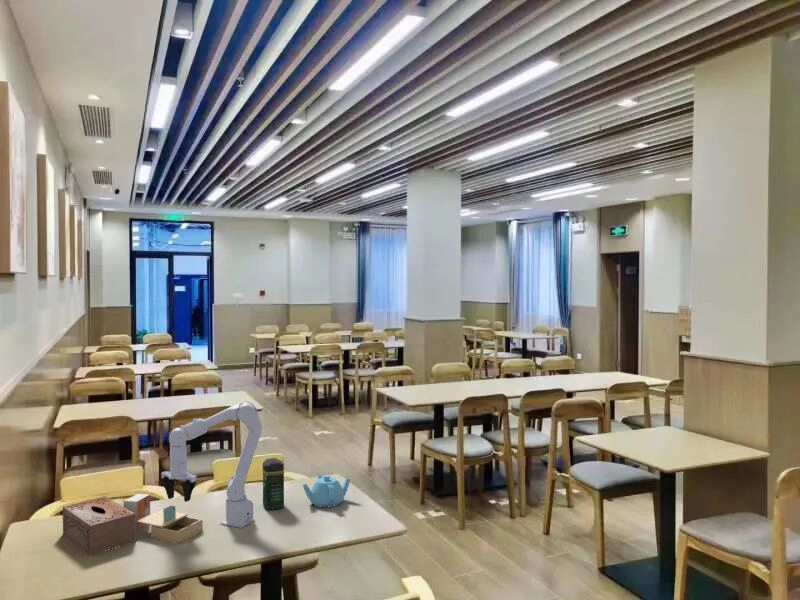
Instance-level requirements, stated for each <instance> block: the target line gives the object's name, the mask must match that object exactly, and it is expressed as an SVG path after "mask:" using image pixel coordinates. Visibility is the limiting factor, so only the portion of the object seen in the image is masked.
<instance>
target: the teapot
mask: <svg viewBox="0 0 800 600" xmlns="http://www.w3.org/2000/svg"><path fill="white" fill-rule="evenodd" d="M350 483H351V478H350V477H348V478H345V480H344V482H343V483H342V485H341V483H340V482H339V480H338V479H337V478H335V477H331V475H329V474H326V475H322V474H318V475H317V479H316V481H315V482H314V483H313V485H312V487H311V489H310V488H309V486H308V484H307V483H303V484H302V487H303V489H304V492H305V494H306V497H307V499H309V501H310V502H311V504H312V505H313V504H314V505H313V506H315V505H316V506H315V507H317V506H321V507H320V508H329V507H328V506H333V507H335V506H334V505H337V504H339V505H340V504H341V503H342V502H343V501H344V499H345V496H346V493H347V491H348V488H349V485H350ZM337 506H338V505H337Z"/></svg>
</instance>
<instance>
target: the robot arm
mask: <svg viewBox="0 0 800 600" xmlns="http://www.w3.org/2000/svg"><path fill="white" fill-rule="evenodd" d="M228 420H231V421H238V420H239V421H240V422H241V423H242V424H244V425H245V427H246V428H247V430H248V431H247V434H246V438H245V441H244V443H243V446H242V450H241V453H240V456H239V459H238V462H237V465H236V467H235V470H234V472H233V475H232V477H231V478H229V480H228V481H227V486H226V488H227V490H226V496H225V520H223V521H222V522H220V524H221V525H224V526H231V527H235V528H244V527H246V526H247V525H249V524H251V523H252V522H254V521H255V518H254V503H253V501H252V500H251V499H249V498H248V497H247V495H246V494H245V493H246V491H245V485H246V483H247V482H246V481H247V478H248V477H247V476H248V474H249V471H250V468H251V464H252V462H253V458H254V456H255V452H256V450H257V447H258V443H259V441H260V438H261V435H262V432H263V424H262V421H261V418H260V415H259V412H258V409H257V407H256V406H255V405H254V403H252V402H251V401H248V400H245V401H243V402H240V403H237V404H234V405H232V406H230V407H228V408H225V409H224V410H222V411H220V412H219V411H218V413H215V414H214V415H211V416H209V417H208V418H206V419H204V418H197V417H196V418H193V419H192V421H191V422H189V423H186V424H184V425H183V424H182V425H180V426H179V427H175V428H174V429H172V431H171V432H170V434H169V436H168V442H169V448H170V449H169V471H162V472H161V475H160V476H161V477H160V478H161V479H162V480H161V481H160V482H161V484H162V486H163V487H164V490H165V492H166V495H167V499H168V500H171V499H173V498H174V497H175V484H176V482H177V480H178V481H183V482H182V483H180V485H181V487H182V491H183V500H184V502H185V503H186V502H190V501H191V499H192V494H193V490H194V488H195V485H196V484H197V475H196V474H191V473H190V472H188V459H187V458H188V452H187V451H188V449H187V441H191V440H193V439H197V437H200V436H202V435H204V434H206V433H207V431H208V429H209V428H211V427H214V426H215V425H218V424H221V423H223V422H226V421H228Z"/></svg>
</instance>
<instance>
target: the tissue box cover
mask: <svg viewBox="0 0 800 600" xmlns="http://www.w3.org/2000/svg"><path fill="white" fill-rule="evenodd" d="M136 531H137V530H136V520H135V513H134V512H132V511H130V510H128V509H127V508H125V507H124V505H122V504H119V503H118V502H117V501H114V500H113V499H111V498H109V497H108V496H107V495H105V496H101V497H100V496H99V497H96V498H92V499H89V500H85V501H79V502H77V503H76V502H75V503H72V504H68V505H65V506H62V534H63V535H64V536H65V537H66V538H67V537H68V539H69V540H70V541H71V542H73V543H74V544H75V545H76V544H77V546H78V547H79V548H80V547H81V548H80V549H82V550H83V551H84V550H85V551H84V552H85V553H87V554H88V553H89V554H90V555H89V554H88V555H89V556H91V555H92V556H94V554H95V555H98V554H101V553H100V552H102V553H104V552H103V551H105V550H108V549H111V550H113V549H112V548H114V549H116V548H115V547H118V546H121V547H123V545H124V546H127V545H130V544H134V543H136V541H137V539H136V538H137V537H136V536H137V534H136ZM118 548H119V547H118ZM108 551H109V550H108ZM105 552H106V551H105ZM97 553H98V554H97Z"/></svg>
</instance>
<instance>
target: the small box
mask: <svg viewBox="0 0 800 600" xmlns="http://www.w3.org/2000/svg"><path fill="white" fill-rule="evenodd" d="M123 507H125V508H127V509H128V510H130V511H132V512H134V513H135V520H136V521H137V520H139V519H142V518H144V517H146V516H148V515H151V494H148V493H136V494H134V495H132V496H131V497H129V498H127V499H124V500H123ZM145 526H146V525H145V524H140V523H136V531H138V530H141V529H142V528H143V527H145Z"/></svg>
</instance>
